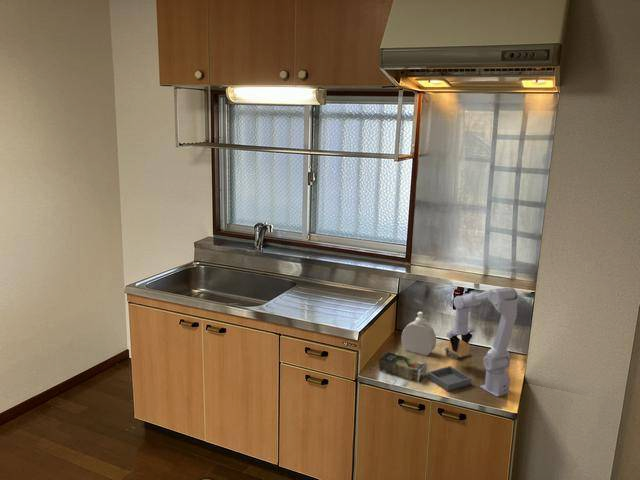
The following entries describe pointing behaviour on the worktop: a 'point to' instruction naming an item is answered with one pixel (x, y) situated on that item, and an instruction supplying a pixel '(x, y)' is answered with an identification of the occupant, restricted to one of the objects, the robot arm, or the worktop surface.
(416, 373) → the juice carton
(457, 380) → the charcoal bin
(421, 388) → the worktop surface
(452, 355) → the egg carton
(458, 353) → the orange crate
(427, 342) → the soap bottle
